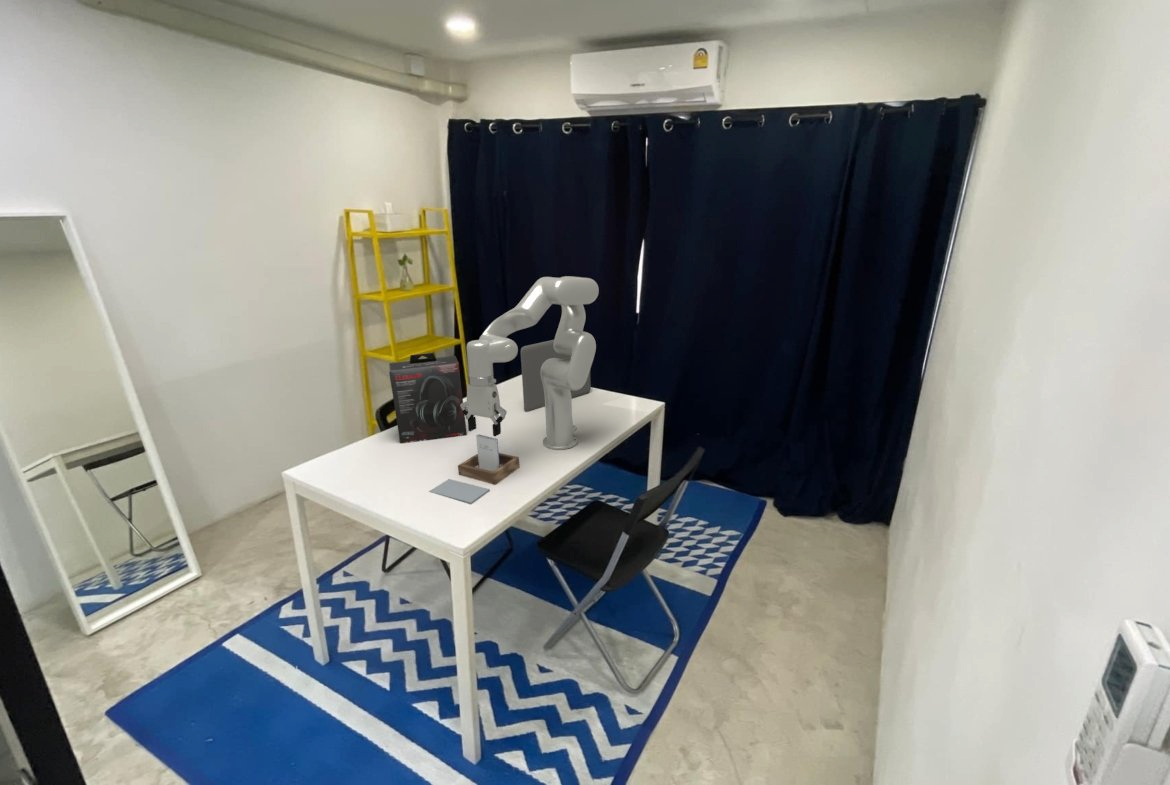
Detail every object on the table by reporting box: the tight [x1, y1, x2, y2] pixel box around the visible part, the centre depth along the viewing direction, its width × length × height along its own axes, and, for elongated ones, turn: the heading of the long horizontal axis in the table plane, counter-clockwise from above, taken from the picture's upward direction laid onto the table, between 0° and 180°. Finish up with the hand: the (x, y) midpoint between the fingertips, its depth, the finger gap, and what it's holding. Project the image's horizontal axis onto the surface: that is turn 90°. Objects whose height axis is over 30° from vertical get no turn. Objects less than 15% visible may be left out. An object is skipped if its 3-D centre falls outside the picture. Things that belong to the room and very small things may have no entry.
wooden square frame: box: [457, 452, 521, 486], centre depth 181 cm, size 13×14×4 cm
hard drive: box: [475, 434, 501, 472], centre depth 179 cm, size 2×8×12 cm, turn 58°
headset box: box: [388, 352, 468, 444], centre depth 206 cm, size 24×13×33 cm, turn 109°
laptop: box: [520, 339, 592, 413], centre depth 249 cm, size 38×29×29 cm
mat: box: [428, 478, 491, 505], centre depth 169 cm, size 9×16×1 cm, turn 62°
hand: (484, 432), depth 176 cm, fingers open, 9 cm apart
